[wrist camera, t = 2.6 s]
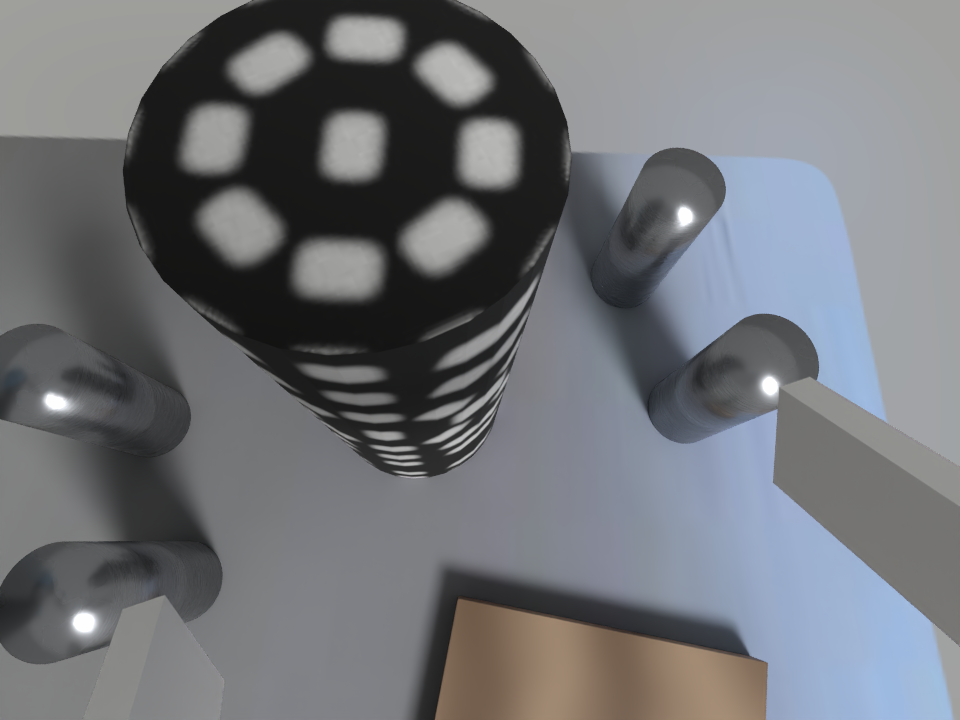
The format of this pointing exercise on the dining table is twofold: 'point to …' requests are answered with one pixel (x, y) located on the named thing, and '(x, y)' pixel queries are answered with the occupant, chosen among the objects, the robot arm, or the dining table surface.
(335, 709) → the dining table surface
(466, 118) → the spotted tube
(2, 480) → the dining table surface
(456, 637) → the square wooden board
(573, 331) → the dining table surface
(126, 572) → the spacer posts
